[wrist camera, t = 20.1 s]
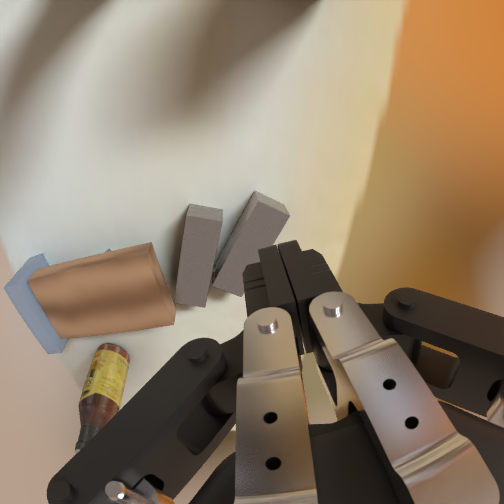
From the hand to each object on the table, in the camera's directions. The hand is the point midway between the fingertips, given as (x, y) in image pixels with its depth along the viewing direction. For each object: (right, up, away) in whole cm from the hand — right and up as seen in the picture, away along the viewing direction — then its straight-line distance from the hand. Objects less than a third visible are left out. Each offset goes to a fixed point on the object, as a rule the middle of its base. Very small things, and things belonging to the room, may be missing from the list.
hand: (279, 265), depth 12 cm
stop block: (-31, -5, +28) cm, 42 cm away
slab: (-21, -4, +25) cm, 33 cm away
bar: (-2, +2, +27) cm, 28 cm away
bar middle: (-8, +1, +28) cm, 29 cm away
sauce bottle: (-25, -17, +35) cm, 46 cm away
